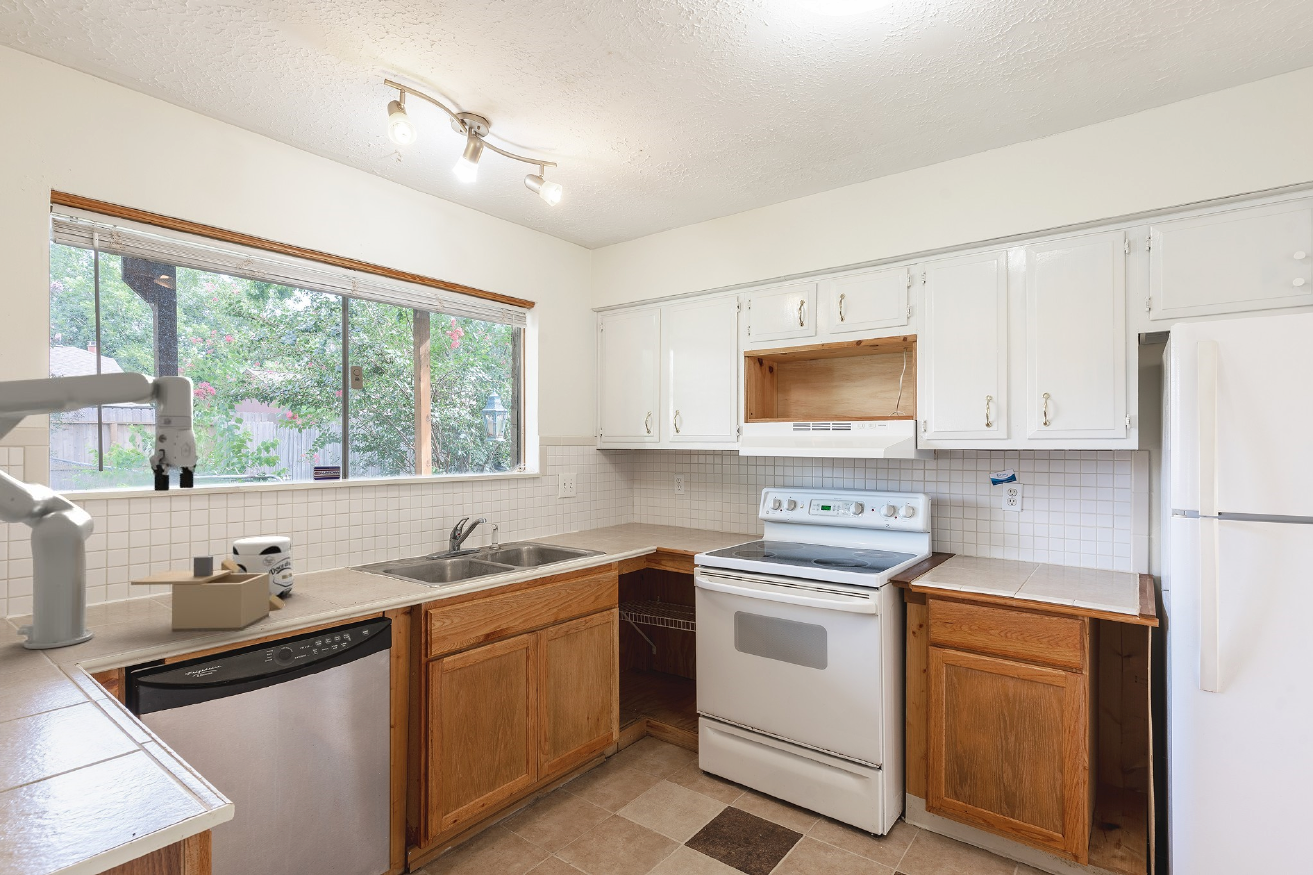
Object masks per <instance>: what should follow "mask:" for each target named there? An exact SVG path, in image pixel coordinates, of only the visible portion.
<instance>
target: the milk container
mask: <svg viewBox="0 0 1313 875" xmlns="http://www.w3.org/2000/svg"><path fill="white" fill-rule="evenodd" d="M232 545H233V546H232V561H233V562H234V563H235V564H236V565H238V566H239V567H240V568H241V569H243V570H244V571H245V572H246V573H269V591H270V592H272V593H273V594H274V595H276V596H277V597H278V598H280V597H283V596H285V595H288V594H289V593H290V592H291V591H292V589H293V587H294V583H295V582H294V579H295V578H294V572H293V569H292V565H291V563H292V562H291V557H292V554H291V553H292V552H291V551H292V550H291V548H292V544H291V537H286V536H259V537H258V536H257V537H249V538H242V539H237V540H235V541H233V544H232Z"/></svg>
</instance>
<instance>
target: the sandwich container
mask: <svg viewBox="0 0 1313 875" xmlns="http://www.w3.org/2000/svg"><path fill="white" fill-rule="evenodd" d="M220 568H221V569H220V570H232V573H231V574H240V573H246V572H245V571H244V570H243V569H241V568H240V567H239V566H238V565H236V564H235V563H234V562H233V559H230V558H229V557H227V558H225V559H224V560H222V561H221V565H220ZM284 604H285V605H286V602H285V601H284V600H282V599H281V598H280V597H277V596H276V595H274V594H273V593H272V592H270V591H269V611H278V610H283V609H284V607H285V606H284ZM283 606H284V607H283ZM282 608H283V609H282Z"/></svg>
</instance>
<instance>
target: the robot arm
mask: <svg viewBox="0 0 1313 875" xmlns="http://www.w3.org/2000/svg"><path fill="white" fill-rule="evenodd" d="M127 403H131V404H132V403H133V404H138V405H147V404H156V406H157V407H156V434H155V441H154V454H153V455H151V456H150V457H149V459H148V460H149V463H150V466H151V467H150V468H151V470H152V471H153V472H152V475H154V488H153V489H154V491H156V492H157V491H159V492H161V491H162V492H167V491H169V490H170V474H169V472H170V470H171V468H179V470H180V473H179V488H180V489H193V488H194V476H195V475H194V473H195V471H196V467H197V461H198V459H199V456H198V455H197V446H196V445H197V444H196V436H195V430H194V428H193V420H194V419H193V417H194V414H193V413H194V412H193V411H194V382H193V380H192V379H191V378H190V377H187V376H179V375H164V376H161V377H155V376H149V375H147V374H143V373H140V372H136V371H126V372H125V371H124V372H111V373H110V372H109V373H97V374H85V375H75V376H74V375H70V376H59V377H58V376H57V377H49V378H33V379H24V380H23V379H21V380H17V379H16V380H4V381H0V441H2V439H3V438H5V437H6V436H7V435H9V433H11V432H12V431H13V430H14V429H16V427H17V426H18V425H20V423H22V421H24V420H25V419H26V418H27V417H28V416H37V415H46V414H47V415H49V414H60V413H69V412H76V411H79V410H81V409H84V408H88V407H96V406H104V405H114V404H127ZM0 521H2V522H5V523H11V524H12V523H13V524H17V523H22V524H24V525H26V526H28V527H29V528H31V532H30V546H31V554H32V624H23V625H21V627H20V628H19V629H18V630H17V632H16V634H17V635H18V636H19V635H20V636H22V635H27V639H26V640H24V641H23V647H24V648H25V649H29V650H43V649H45V650H46V649H53V648H60V647H66V646H72V645H75V644H79V643H83V642H86V641H88V640H89V641H90V640H91V639H92V638H94V637H95V636H94V635H95V634H94V633H95V632H94V631H93V630H91V629H86V628H87V627H86V623H87V621H86V618H87V615H86V614H87V612H86V611H87V559H86V558H87V557H86V555H87V554H86V545H85V542H86V540H87V539H89V538H90V537H91V535H92V534H93V532H94V529H95V524H94V520H93V518H92V516H91V515H90V514H89V513H88V512H87V511H85V510H84V509H82V507H81V508H80V507H79V506H78V505H76V504H74V503H73V502H71V501H70V500H68V499H66V498H65V497H64V496H62V495H60V494H59V493H57V492H56V491H54V490H52V489H51V488H50V487H47V486H45V485H43V484H41V483H39V482H34V481H20V480H18V479H17V478H14V477H13V476H11V475H9V474H7V473H6V472H4V471H3V470H1V469H0Z"/></svg>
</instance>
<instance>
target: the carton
mask: <svg viewBox="0 0 1313 875" xmlns="http://www.w3.org/2000/svg"><path fill="white" fill-rule="evenodd" d="M268 617H270V610H269V573H240V574H228V575H225V576H223V577H220V578H217V579H214V580H211V581H208V582H205V583H203V584H171V632H172V633H174V632H181V633H182V632H226V631H227V632H229V631H234V632H235V631H237V632H239V631H240V632H241V631H243V630H245V629H247V628H249V627H251V626H253V625H255V624H256V623H258V622H260V620H261V621H262V620H264V619H266V618H268Z"/></svg>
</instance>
